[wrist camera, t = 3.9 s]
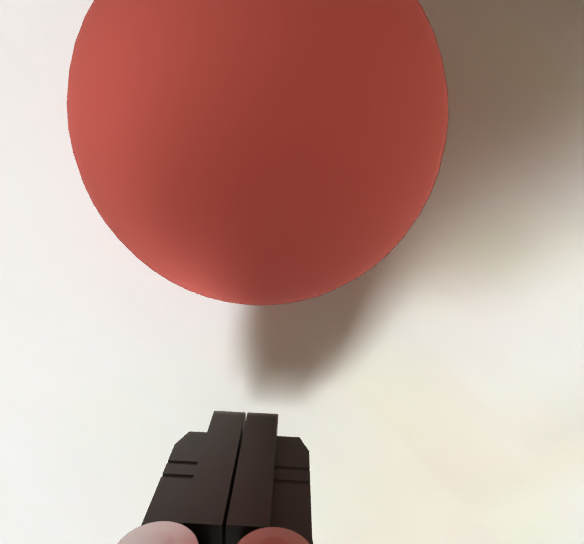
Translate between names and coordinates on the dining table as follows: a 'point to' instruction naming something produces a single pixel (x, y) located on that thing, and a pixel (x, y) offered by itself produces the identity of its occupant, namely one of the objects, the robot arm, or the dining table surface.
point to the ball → (258, 137)
